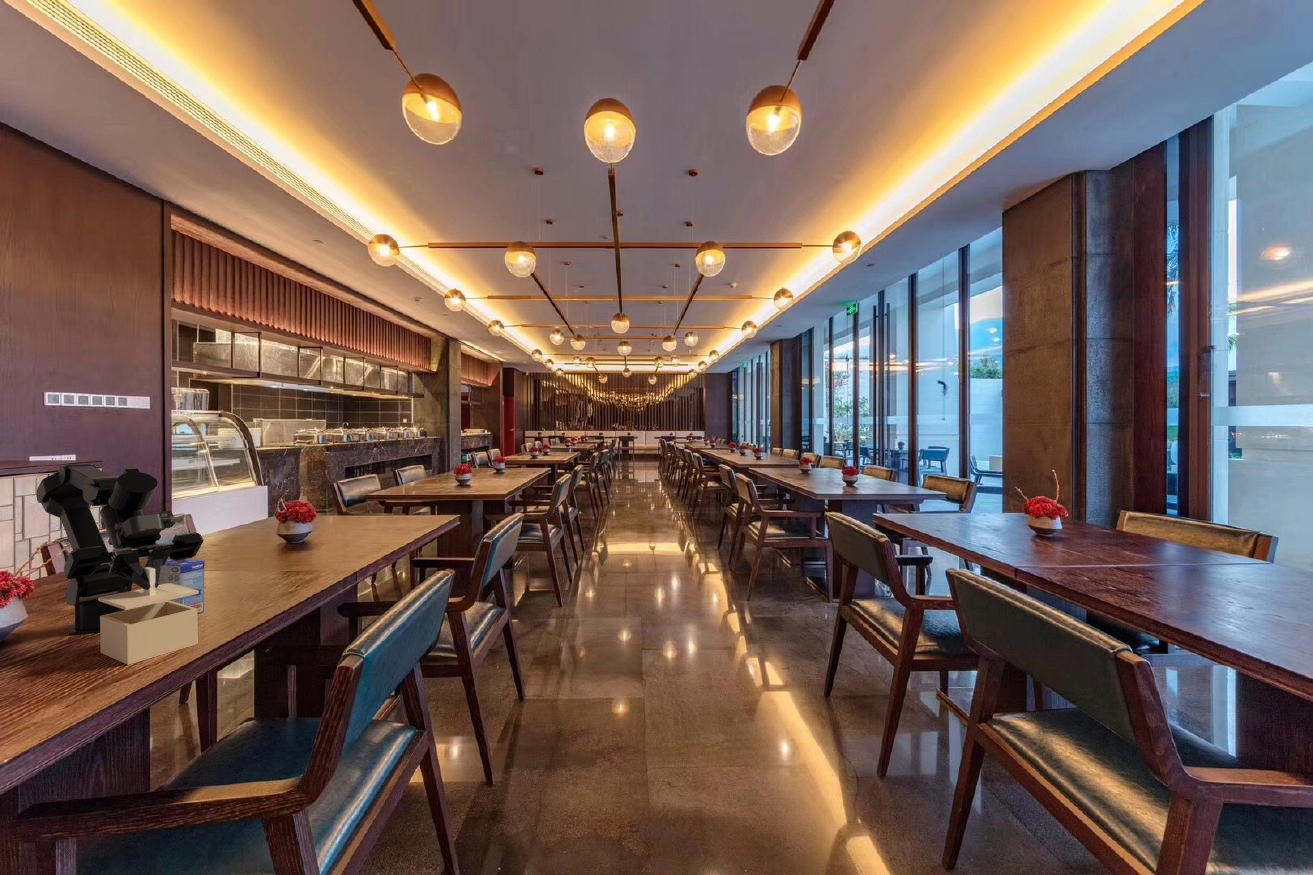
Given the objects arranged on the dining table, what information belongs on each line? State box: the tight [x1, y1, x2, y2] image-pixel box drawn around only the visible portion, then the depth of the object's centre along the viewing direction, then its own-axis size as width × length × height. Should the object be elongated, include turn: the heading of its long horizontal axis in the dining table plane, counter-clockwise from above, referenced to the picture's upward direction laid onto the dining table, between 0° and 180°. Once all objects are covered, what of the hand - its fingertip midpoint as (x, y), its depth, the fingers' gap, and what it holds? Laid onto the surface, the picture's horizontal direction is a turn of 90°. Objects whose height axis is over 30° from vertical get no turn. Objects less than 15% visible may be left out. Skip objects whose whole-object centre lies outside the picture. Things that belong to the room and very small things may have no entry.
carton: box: [99, 600, 199, 665], centre depth 98 cm, size 12×10×7 cm
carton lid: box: [98, 567, 198, 610], centre depth 98 cm, size 12×10×6 cm
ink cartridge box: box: [150, 559, 206, 615], centre depth 117 cm, size 10×6×14 cm, turn 78°
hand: (152, 587), depth 97 cm, fingers closed, pressing on carton lid
